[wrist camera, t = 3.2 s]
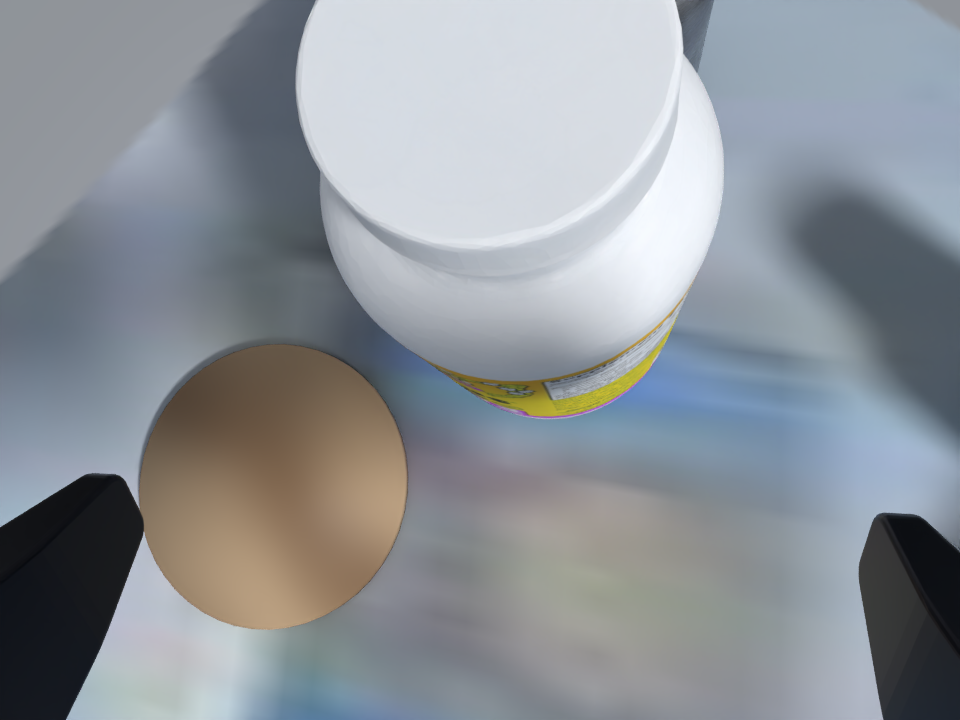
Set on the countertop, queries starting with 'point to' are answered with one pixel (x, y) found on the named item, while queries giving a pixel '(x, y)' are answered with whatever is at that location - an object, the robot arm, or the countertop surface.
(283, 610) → the cork coaster
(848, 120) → the countertop surface
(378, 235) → the supplement bottle
